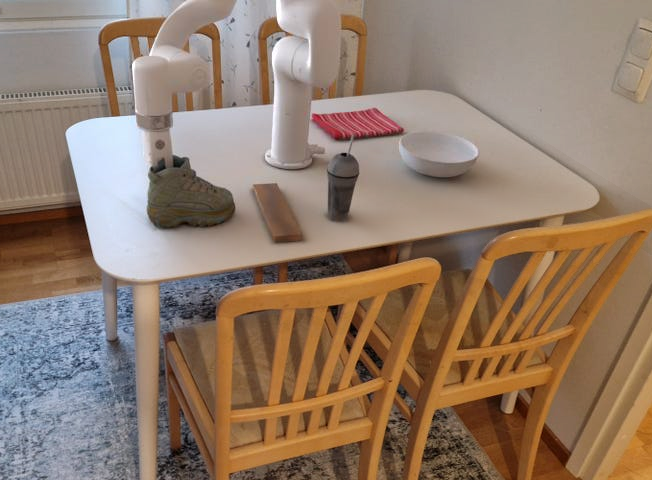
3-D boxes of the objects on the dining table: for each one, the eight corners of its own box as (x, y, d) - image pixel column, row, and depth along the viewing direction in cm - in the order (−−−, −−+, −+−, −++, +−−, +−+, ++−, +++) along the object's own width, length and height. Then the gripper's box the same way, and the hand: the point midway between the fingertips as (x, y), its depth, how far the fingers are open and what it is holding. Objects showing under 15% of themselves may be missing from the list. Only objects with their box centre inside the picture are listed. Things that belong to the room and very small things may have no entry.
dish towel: (308, 120, 194) (309, 112, 192) (376, 113, 202) (377, 105, 201) (333, 142, 181) (334, 133, 180) (404, 134, 189) (405, 126, 188)
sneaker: (236, 230, 138) (236, 165, 130) (145, 231, 136) (140, 164, 128) (235, 209, 147) (235, 147, 139) (150, 209, 145) (146, 146, 138)
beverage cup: (319, 208, 149) (328, 127, 137) (350, 208, 150) (361, 128, 138) (323, 224, 143) (333, 141, 131) (355, 224, 144) (367, 142, 132)
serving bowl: (487, 171, 172) (493, 147, 168) (446, 195, 159) (452, 170, 155) (422, 146, 183) (427, 123, 179) (379, 166, 170) (383, 142, 166)
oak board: (276, 188, 156) (276, 183, 155) (301, 240, 137) (302, 234, 136) (252, 190, 154) (252, 184, 153) (274, 242, 135) (274, 236, 134)
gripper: (180, 130, 128) (182, 210, 139) (164, 104, 139) (167, 179, 150) (143, 133, 126) (148, 214, 136) (129, 106, 137) (135, 183, 147)
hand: (158, 196), depth 143 cm, fingers closed
